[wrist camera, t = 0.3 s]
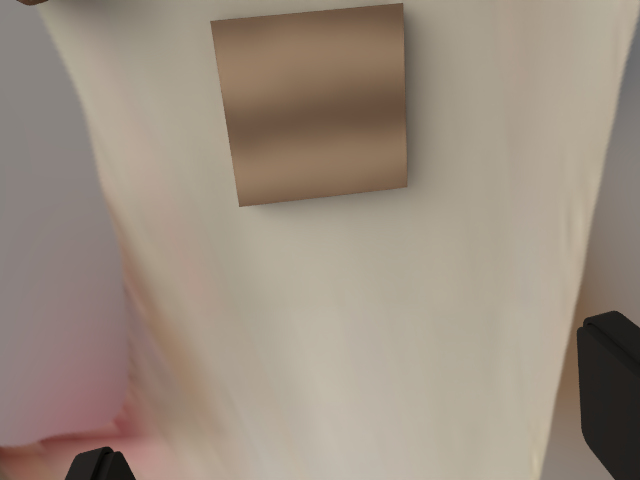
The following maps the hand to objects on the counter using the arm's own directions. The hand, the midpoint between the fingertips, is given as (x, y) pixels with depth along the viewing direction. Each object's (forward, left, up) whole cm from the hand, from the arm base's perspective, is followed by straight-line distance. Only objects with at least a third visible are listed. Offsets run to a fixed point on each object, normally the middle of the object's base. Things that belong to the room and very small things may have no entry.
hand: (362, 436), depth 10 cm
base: (-3, +2, -30) cm, 30 cm away
